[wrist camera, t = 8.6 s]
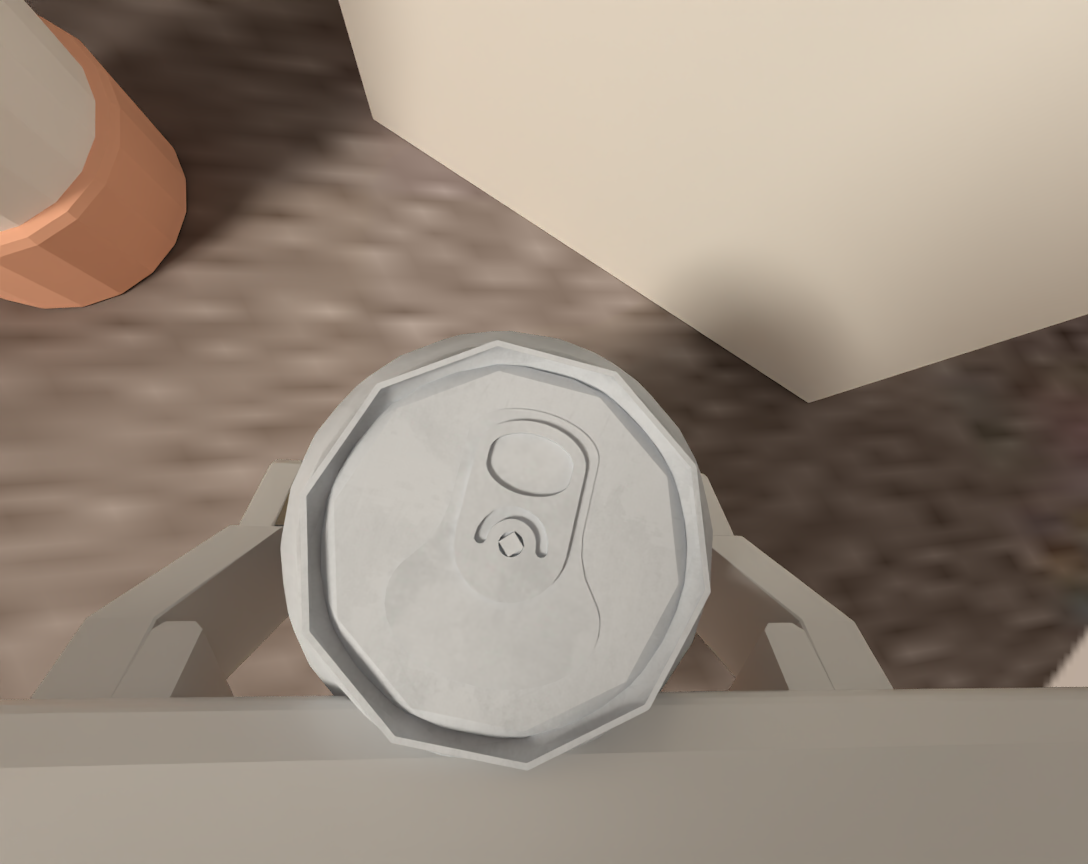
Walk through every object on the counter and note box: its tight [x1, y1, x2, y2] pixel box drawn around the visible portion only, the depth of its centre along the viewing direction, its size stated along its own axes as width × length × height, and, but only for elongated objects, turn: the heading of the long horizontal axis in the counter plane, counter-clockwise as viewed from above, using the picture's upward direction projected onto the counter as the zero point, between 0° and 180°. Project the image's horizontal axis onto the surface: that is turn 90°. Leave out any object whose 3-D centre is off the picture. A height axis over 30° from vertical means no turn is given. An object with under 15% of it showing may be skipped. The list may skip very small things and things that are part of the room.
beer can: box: [280, 331, 713, 771], centre depth 11 cm, size 5×5×12 cm
